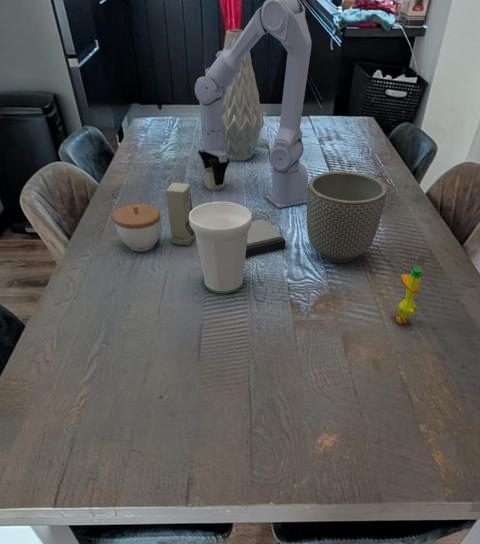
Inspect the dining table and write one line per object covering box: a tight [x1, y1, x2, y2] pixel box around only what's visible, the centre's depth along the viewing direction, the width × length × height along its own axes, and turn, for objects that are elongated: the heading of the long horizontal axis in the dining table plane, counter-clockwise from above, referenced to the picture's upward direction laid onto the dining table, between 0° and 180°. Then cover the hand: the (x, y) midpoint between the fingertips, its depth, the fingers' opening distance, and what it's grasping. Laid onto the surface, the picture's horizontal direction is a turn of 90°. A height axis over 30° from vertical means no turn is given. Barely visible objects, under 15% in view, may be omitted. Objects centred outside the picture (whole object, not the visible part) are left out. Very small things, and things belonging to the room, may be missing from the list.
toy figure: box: [395, 266, 423, 325], centre depth 92 cm, size 7×4×12 cm, turn 13°
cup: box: [189, 201, 252, 294], centre depth 99 cm, size 12×12×15 cm
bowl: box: [204, 167, 226, 191], centre depth 138 cm, size 6×6×5 cm
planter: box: [306, 170, 388, 264], centre depth 108 cm, size 17×17×16 cm
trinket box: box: [112, 203, 162, 252], centre depth 112 cm, size 11×11×9 cm
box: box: [165, 182, 196, 246], centre depth 112 cm, size 5×4×13 cm
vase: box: [222, 28, 265, 162], centre depth 146 cm, size 17×17×33 cm
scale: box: [245, 218, 287, 259], centre depth 116 cm, size 12×12×3 cm
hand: (214, 180), depth 139 cm, fingers closed on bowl, 6 cm apart
